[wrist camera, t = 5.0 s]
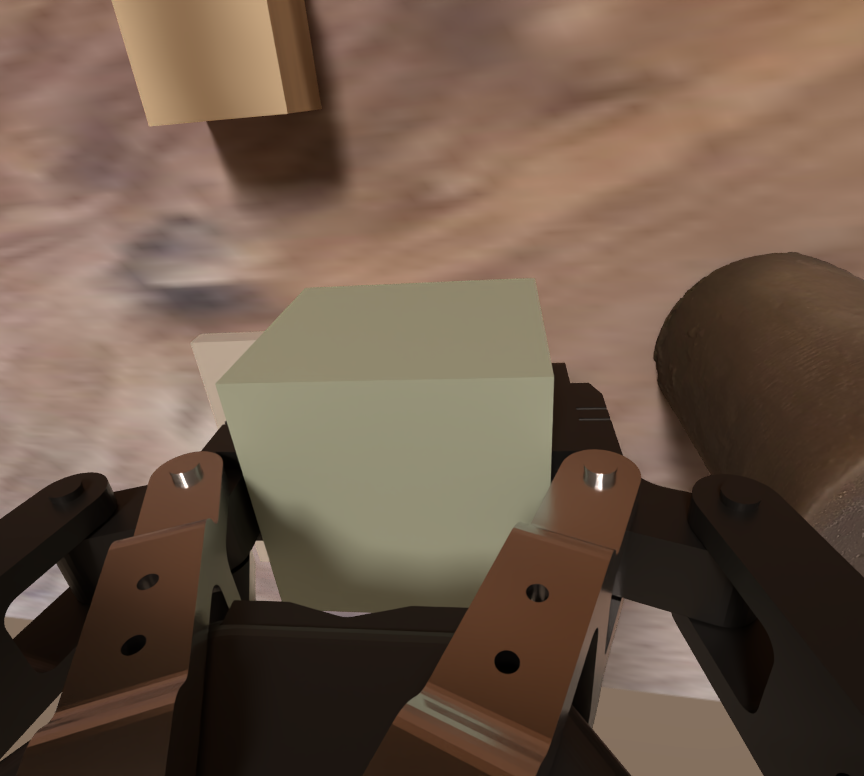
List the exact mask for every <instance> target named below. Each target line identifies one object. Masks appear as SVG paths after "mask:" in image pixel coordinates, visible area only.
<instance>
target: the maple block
mask: <svg viewBox="0 0 864 776" xmlns="http://www.w3.org/2000/svg"><path fill="white" fill-rule="evenodd" d="M112 3H113V7H114V10H115V13H116V17H117V20H118V23H119V27H120V30H121V33H122V37H123V40H124V44H125V47H126V50H127V54H128V57H129V60H130V64H131V67H132V70H133V74H134V77H135V80H136V84H137V87H138V90H139V94H140V97H141V101H142V104H143V107H144V111H145V114H146V117H147V121H148V124H149V126H158V125H169V124H180V123H191V122H202V121H213V120H224V119H235V118H246V117H257V116H268V115H278V114H289V113H296V112H304V111H311V110H319V109H322V107H321V101H320V95H319V88H318V82H317V76H316V70H315V63H314V57H313V51H312V45H311V38H310V32H309V26H308V19H307V13H306V7H305V1H304V0H112Z"/></svg>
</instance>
